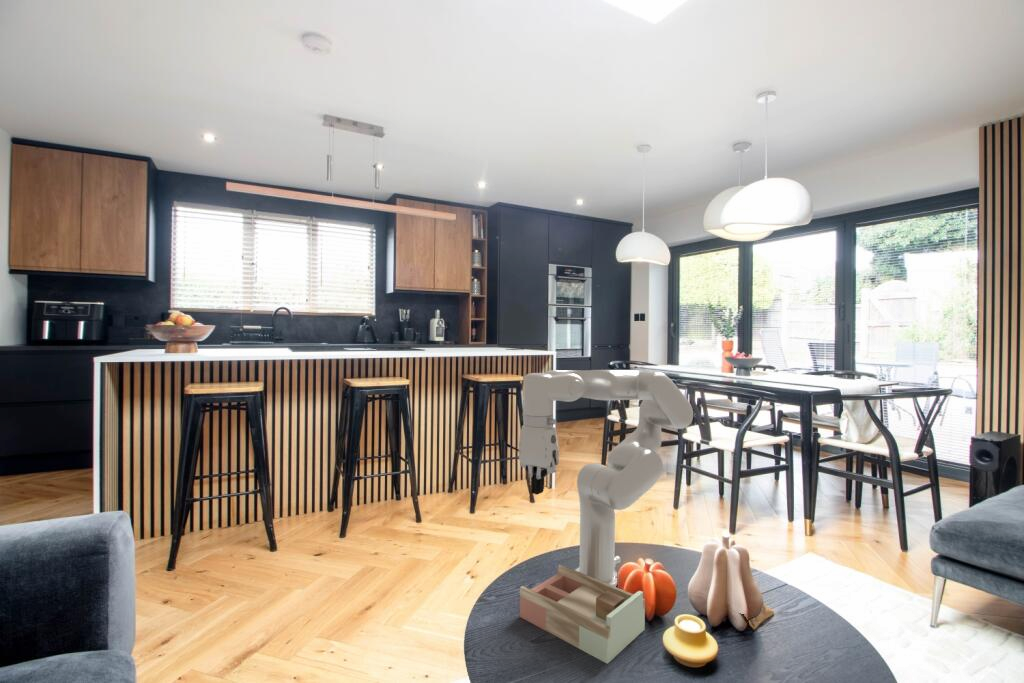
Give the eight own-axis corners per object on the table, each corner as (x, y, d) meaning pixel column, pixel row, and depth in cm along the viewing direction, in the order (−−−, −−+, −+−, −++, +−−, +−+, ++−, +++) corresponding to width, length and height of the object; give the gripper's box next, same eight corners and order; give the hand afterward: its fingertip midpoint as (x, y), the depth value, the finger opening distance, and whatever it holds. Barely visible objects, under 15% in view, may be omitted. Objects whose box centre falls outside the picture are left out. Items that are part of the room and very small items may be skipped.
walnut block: (606, 607, 109) (607, 590, 109) (624, 615, 106) (624, 597, 106) (595, 616, 106) (596, 598, 106) (613, 624, 103) (613, 605, 103)
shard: (754, 633, 110) (754, 625, 110) (722, 617, 116) (722, 610, 116) (775, 616, 116) (775, 609, 116) (744, 602, 122) (744, 595, 122)
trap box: (560, 591, 126) (560, 556, 126) (644, 629, 110) (645, 590, 110) (519, 616, 114) (520, 578, 114) (607, 663, 98) (608, 620, 98)
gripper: (570, 423, 121) (569, 495, 121) (524, 416, 131) (523, 483, 131) (554, 427, 115) (553, 503, 116) (506, 419, 125) (505, 490, 125)
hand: (537, 492), depth 123 cm, fingers closed
